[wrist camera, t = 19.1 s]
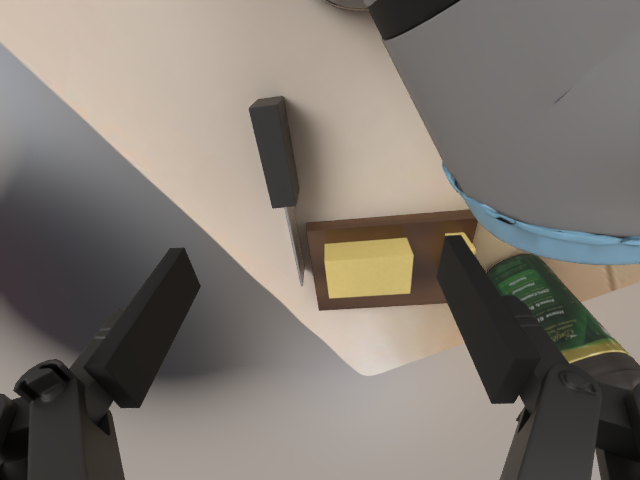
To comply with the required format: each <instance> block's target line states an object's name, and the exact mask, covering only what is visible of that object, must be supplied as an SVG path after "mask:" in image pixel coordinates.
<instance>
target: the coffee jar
mask: <svg viewBox="0 0 640 480" xmlns="http://www.w3.org/2000/svg"><path fill="white" fill-rule="evenodd" d="M487 275H488V277H489V278H490V280H491V282H492V283H493V285H494V286H495V288H496V289H497V291H498V292H499V294H500V295H501V296H502V295H515V296H516V297H517V298H519V299H520V300H521V301H523V302H524V303H525V304H526V305H527V306H528V307H529V309H530V310H531V311H532V313H533V314H534V317H535V318H537V320H538V321H539V322H540V324H541V327H543V328H544V329H545V331H546V332H547V333H548V335H549V336H550V338H551V339H552V340H553V342H554V343H555V344H556V346H557V347H558V349H559V350H560V351H561V353H562V354H563V356H564V357H565V358H566V360H567V361H568V362H569V363H570V364H571V365H574V366H577V367H579V368H581V369H582V370H584V371H586V372H587V373H588V374H590V375H591V376H592V377H593V378H594V379H595V380H596V381H598V382H601V383H605V384H609V385H613V386H616V387H620V388H624V389H628V390H632V389H633V388H634V387H635V386H636V385H637V384H640V366H639V365H638V363H637V362H636V361H635V360H634V359H633V358H632V357H631V356H630V355H629V353H628V352H626V350H625V349H624V348H623V347H622V346H621V345H620V344H619V343H618V342H617V341H616V340H615V339H614V338H613V337H612V336H611V335H610V334H609V333H608V332H607V330H606V329H605V328H604V327H603V326H602V325H601V324H600V323H599V322H598V321H597V320H596V319H595V318H594V317H593V315H592V314H591V313H590V312H589V311H588V310H587V309H586V308H585V307H584V306H583V305H582V303H581V302H580V301H579V300H578V299H577V298H576V297H575V296H574V295H573V294H572V293H571V292H570V290H569V289H568V288H567V287H566V286H565V285H564V284H563V283H562V282H561V280H560V279H559V278H558V277H557V276H556V275H555V274H554V273H553V272H552V270H551V269H550V268H549V267H548V266H547V265H546V264H545V263H544V262H543V261H542V260H541V259H540V258H539V257H538V256H536V255H532V254H524V255H519V256H515V257H512V258H509V259H507V260H504V261H502V262H501V263H499V264H497V265H496V266H495V267H493V268H492V269H491V270H490V271H489V272H488V273H487Z"/></svg>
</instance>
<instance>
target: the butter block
mask: <svg viewBox="0 0 640 480" xmlns="http://www.w3.org/2000/svg"><path fill="white" fill-rule="evenodd" d="M413 257H414V255H413V252H412V250H411V247H410V245H409V242H408V240H407V238H396V239H383V240H370V241H356V242H343V243H330V244H325V259H324V262H325V270H326V278H327V286H328V294H329V298H345V297H361V296H377V295H393V294H409V293H410V289H411V279H412V268H413Z"/></svg>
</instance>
